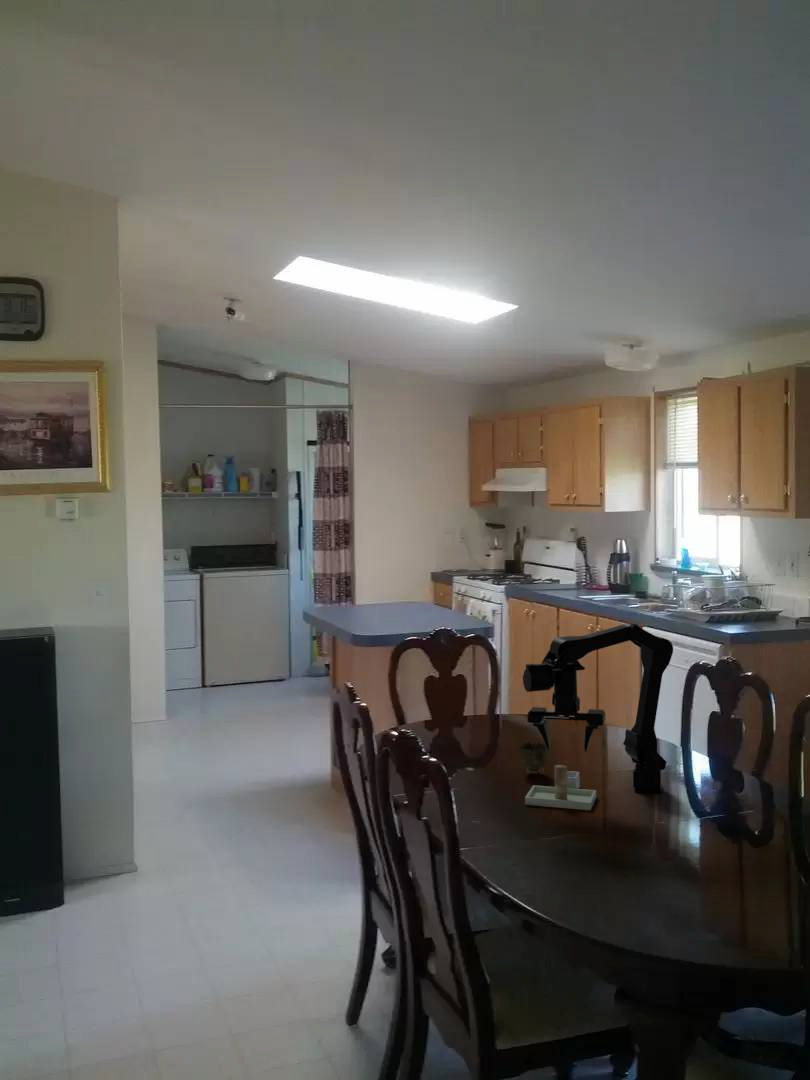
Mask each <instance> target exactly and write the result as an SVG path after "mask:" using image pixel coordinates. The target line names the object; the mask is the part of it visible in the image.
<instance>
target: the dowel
mask: <svg viewBox="0 0 810 1080" xmlns="http://www.w3.org/2000/svg"><path fill="white" fill-rule="evenodd" d="M567 771H568V767H567V766H566V765H563V764H557V765H554V787H555V799H559V800H567Z"/></svg>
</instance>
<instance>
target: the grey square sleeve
mask: <svg viewBox="0 0 810 1080" xmlns="http://www.w3.org/2000/svg"><path fill="white" fill-rule="evenodd" d="M580 775H581V774H580V771H572V770H571V771H570V770H567V788H573V789H580V787H581V786H580V785H581V784H580V783H581V782H580V779H581V778H580V777H581V776H580Z"/></svg>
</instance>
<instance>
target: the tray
mask: <svg viewBox="0 0 810 1080" xmlns="http://www.w3.org/2000/svg"><path fill="white" fill-rule="evenodd" d="M596 799H597V789H596V790H595V789H584V788H579V789H573V788H567V800H559V799H555V786H547V785H546V786H544V785H532V786H531V788H530V790H529V791H528V792H527V794H526V795H525V796H524V801H525V802H524V805H525V806H537V807H538V806H540V807H547V808H548V807H550V808H559V809H560V808H561V809H562V808H563V809H572V810H583V811H591V809H592V808H593V806H594V804H595V802H596Z"/></svg>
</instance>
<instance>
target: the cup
mask: <svg viewBox="0 0 810 1080" xmlns="http://www.w3.org/2000/svg"><path fill="white" fill-rule="evenodd" d="M547 751H548V749H547V746H546V744H543V743H542V742H541V743H540V742H537V743H536V742H535V741H534V742H532V743H531V742H530V741H527V742H526V743H525V742H522V744H519V752H520V758H521V759H520V760H521V763H522V766H523V767H524V768H525V769H527V770H526V773H527V774H528V775H531V776H538V775H540V774H541V769H543V767H544V766H545V764H546V759H547Z"/></svg>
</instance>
